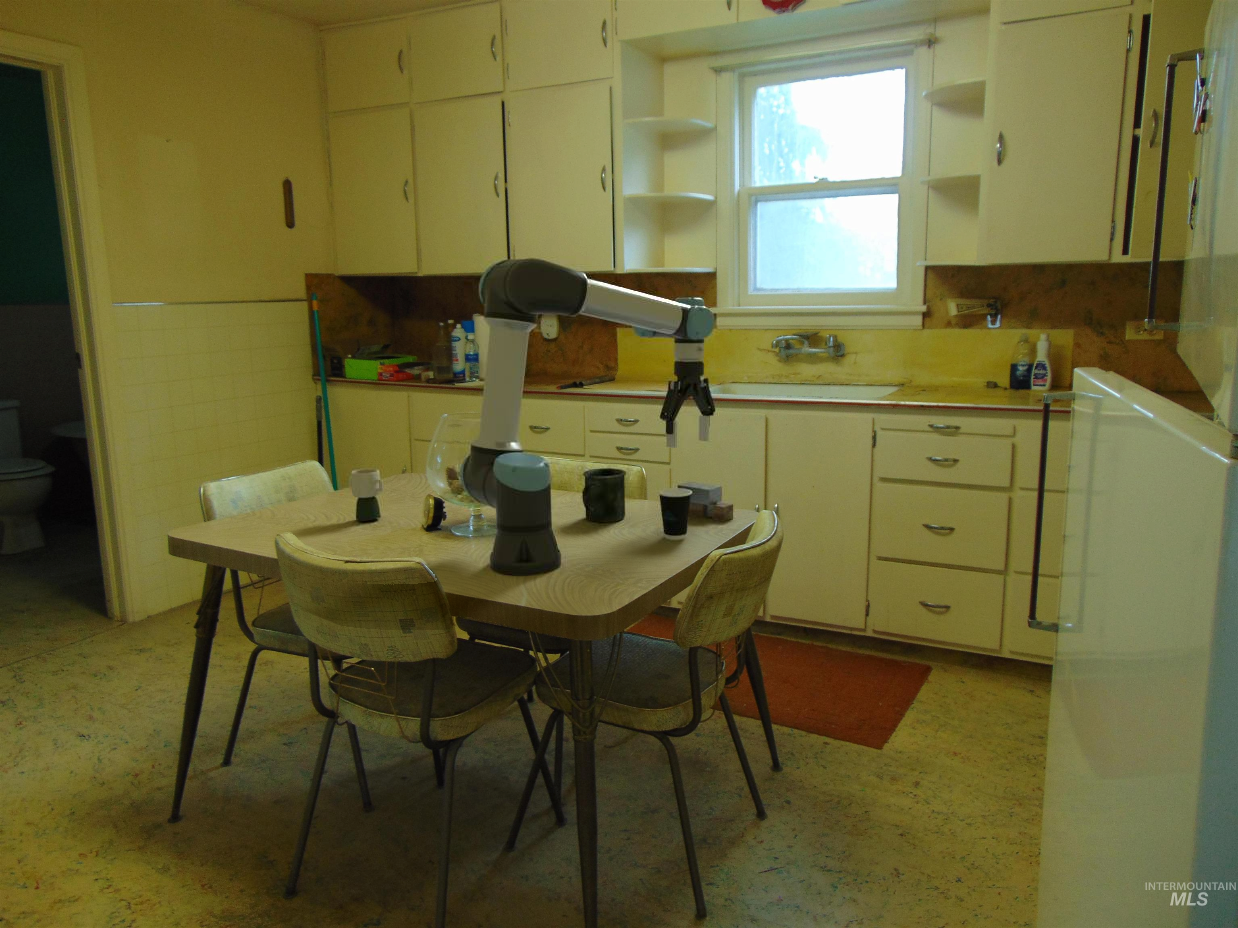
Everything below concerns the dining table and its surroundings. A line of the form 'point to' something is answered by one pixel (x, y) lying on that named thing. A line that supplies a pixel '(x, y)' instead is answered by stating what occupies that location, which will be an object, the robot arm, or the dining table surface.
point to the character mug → (366, 493)
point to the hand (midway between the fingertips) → (688, 443)
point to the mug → (604, 494)
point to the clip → (704, 494)
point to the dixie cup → (675, 512)
